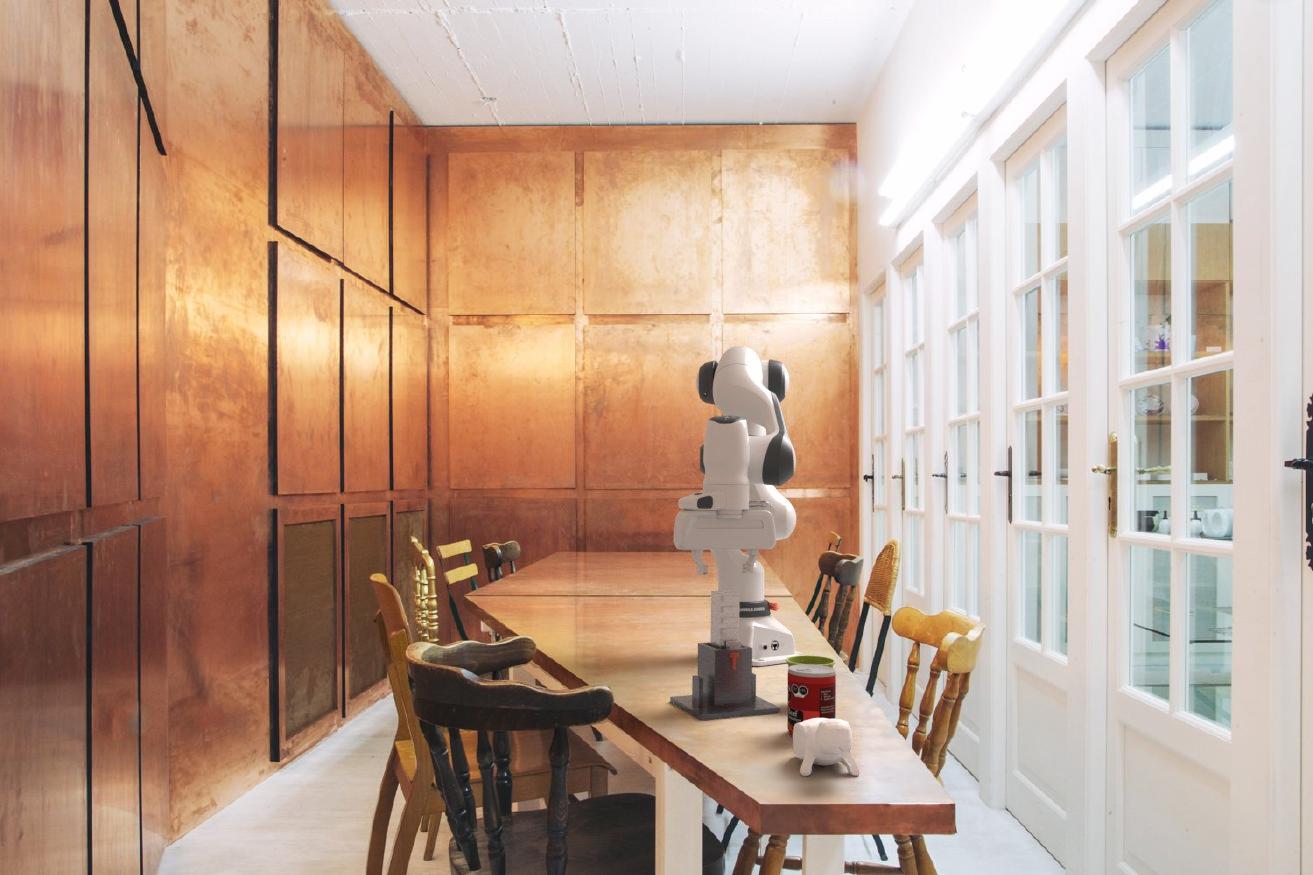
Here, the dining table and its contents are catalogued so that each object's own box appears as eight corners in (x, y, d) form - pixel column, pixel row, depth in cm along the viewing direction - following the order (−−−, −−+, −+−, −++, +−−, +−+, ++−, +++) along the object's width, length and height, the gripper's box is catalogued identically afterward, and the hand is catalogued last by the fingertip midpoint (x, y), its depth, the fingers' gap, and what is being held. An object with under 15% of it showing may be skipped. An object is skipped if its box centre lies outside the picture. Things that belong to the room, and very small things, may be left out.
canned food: (784, 727, 154) (785, 663, 154) (831, 728, 153) (831, 664, 154) (790, 740, 146) (790, 672, 147) (839, 741, 146) (839, 673, 146)
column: (729, 695, 170) (730, 590, 171) (740, 701, 165) (741, 593, 166) (708, 697, 168) (709, 590, 169) (719, 703, 164) (720, 593, 165)
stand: (744, 695, 176) (745, 629, 177) (780, 712, 163) (780, 641, 164) (670, 701, 171) (671, 633, 171) (700, 720, 158) (701, 646, 158)
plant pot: (780, 708, 167) (780, 661, 167) (791, 697, 175) (791, 653, 176) (830, 714, 163) (830, 666, 164) (839, 702, 172) (839, 657, 172)
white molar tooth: (789, 779, 136) (811, 772, 122) (785, 721, 140) (806, 708, 126) (844, 779, 137) (872, 772, 123) (838, 721, 140) (866, 708, 126)
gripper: (766, 500, 176) (765, 571, 175) (670, 499, 168) (669, 573, 167) (782, 501, 170) (781, 574, 169) (684, 500, 162) (682, 576, 161)
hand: (725, 573), depth 168 cm, fingers open, 8 cm apart
